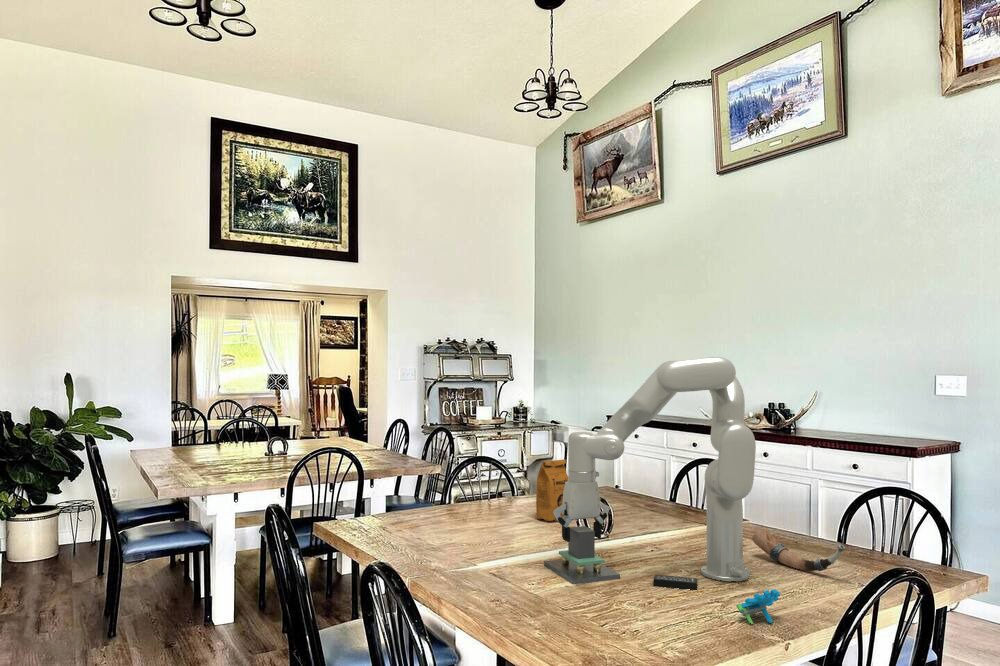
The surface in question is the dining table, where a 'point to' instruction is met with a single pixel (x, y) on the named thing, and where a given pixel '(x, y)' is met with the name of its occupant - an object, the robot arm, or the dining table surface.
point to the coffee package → (550, 489)
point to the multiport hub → (675, 582)
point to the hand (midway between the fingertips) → (582, 539)
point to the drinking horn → (784, 556)
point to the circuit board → (581, 547)
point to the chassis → (581, 571)
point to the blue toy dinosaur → (759, 604)
